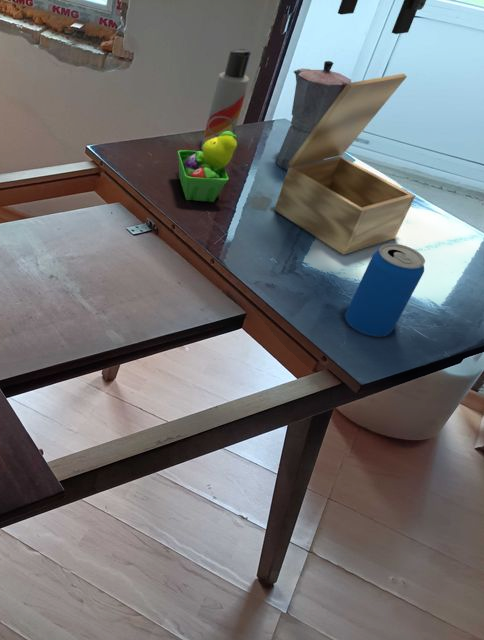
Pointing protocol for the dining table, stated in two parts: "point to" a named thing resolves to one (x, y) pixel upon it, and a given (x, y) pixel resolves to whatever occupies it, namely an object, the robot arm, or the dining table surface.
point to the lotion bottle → (228, 95)
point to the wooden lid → (347, 118)
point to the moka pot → (310, 107)
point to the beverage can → (385, 289)
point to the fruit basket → (206, 168)
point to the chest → (343, 204)
